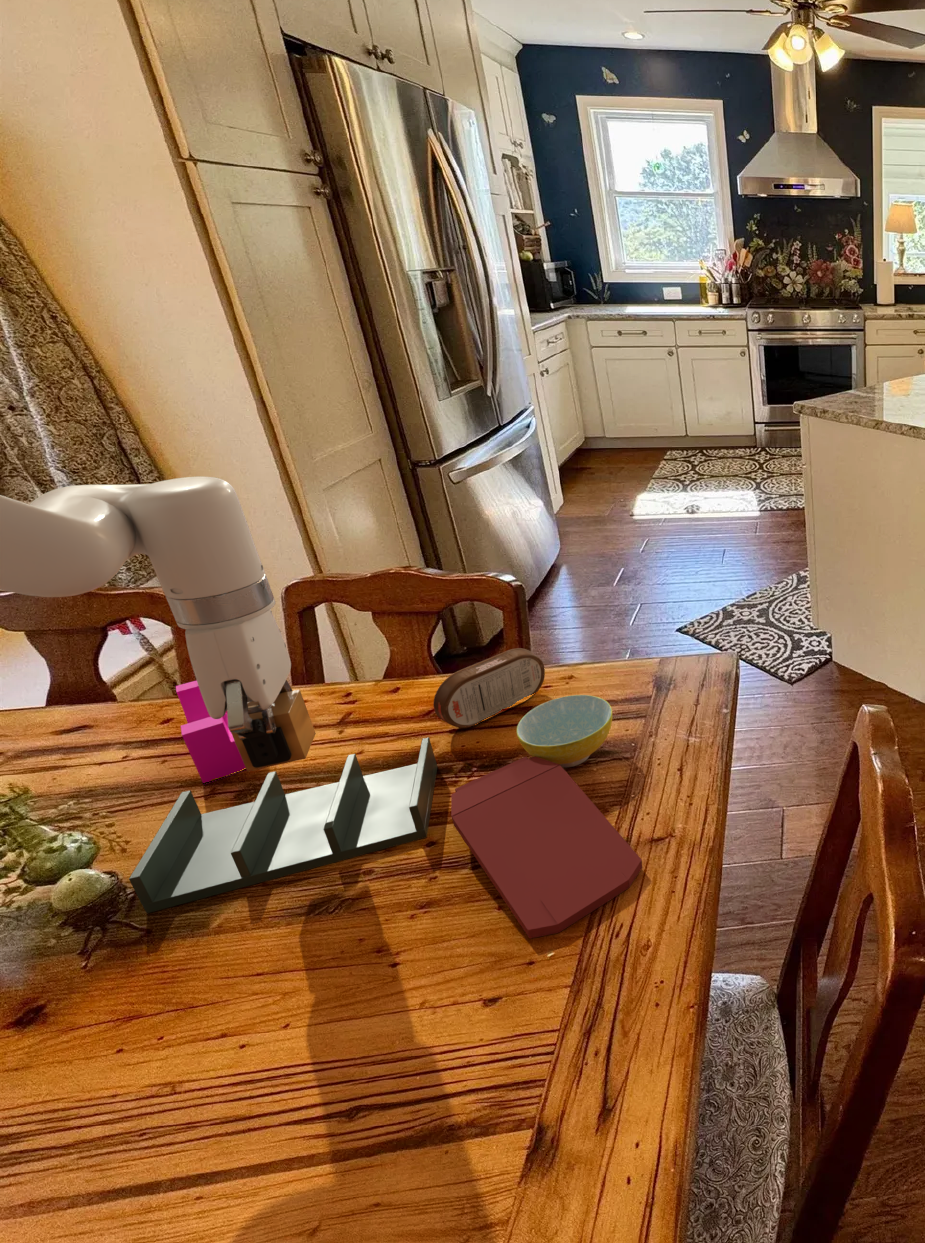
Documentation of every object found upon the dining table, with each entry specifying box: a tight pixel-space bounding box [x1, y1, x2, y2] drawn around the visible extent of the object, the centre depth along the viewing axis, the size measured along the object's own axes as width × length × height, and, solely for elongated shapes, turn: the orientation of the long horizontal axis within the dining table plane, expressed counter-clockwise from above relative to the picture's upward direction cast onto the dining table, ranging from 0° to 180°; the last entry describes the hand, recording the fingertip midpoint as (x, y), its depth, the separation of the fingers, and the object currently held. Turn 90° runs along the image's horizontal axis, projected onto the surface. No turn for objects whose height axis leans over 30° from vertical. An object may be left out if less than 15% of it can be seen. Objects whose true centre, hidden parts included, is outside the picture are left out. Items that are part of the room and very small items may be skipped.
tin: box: [433, 647, 546, 729], centre depth 106 cm, size 15×3×8 cm, turn 148°
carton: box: [450, 756, 643, 939], centre depth 83 cm, size 12×5×25 cm
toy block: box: [175, 679, 246, 785], centre depth 97 cm, size 15×6×8 cm, turn 45°
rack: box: [128, 737, 438, 914], centre depth 84 cm, size 24×14×5 cm, turn 117°
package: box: [231, 689, 317, 772], centre depth 80 cm, size 5×5×6 cm
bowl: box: [516, 694, 613, 768], centre depth 97 cm, size 11×12×6 cm
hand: (279, 746), depth 81 cm, fingers closed on package, 5 cm apart
